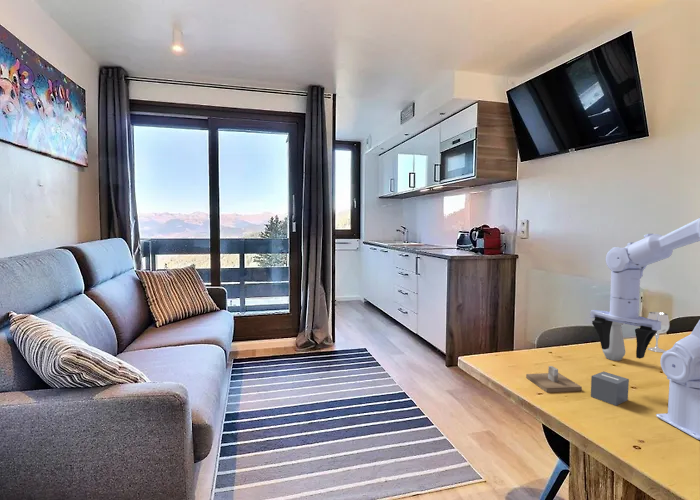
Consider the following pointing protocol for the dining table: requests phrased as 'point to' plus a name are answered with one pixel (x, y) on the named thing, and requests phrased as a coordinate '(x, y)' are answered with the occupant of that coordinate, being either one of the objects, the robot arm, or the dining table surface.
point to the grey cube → (609, 388)
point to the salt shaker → (615, 343)
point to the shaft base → (553, 381)
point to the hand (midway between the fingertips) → (622, 352)
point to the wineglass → (664, 327)
